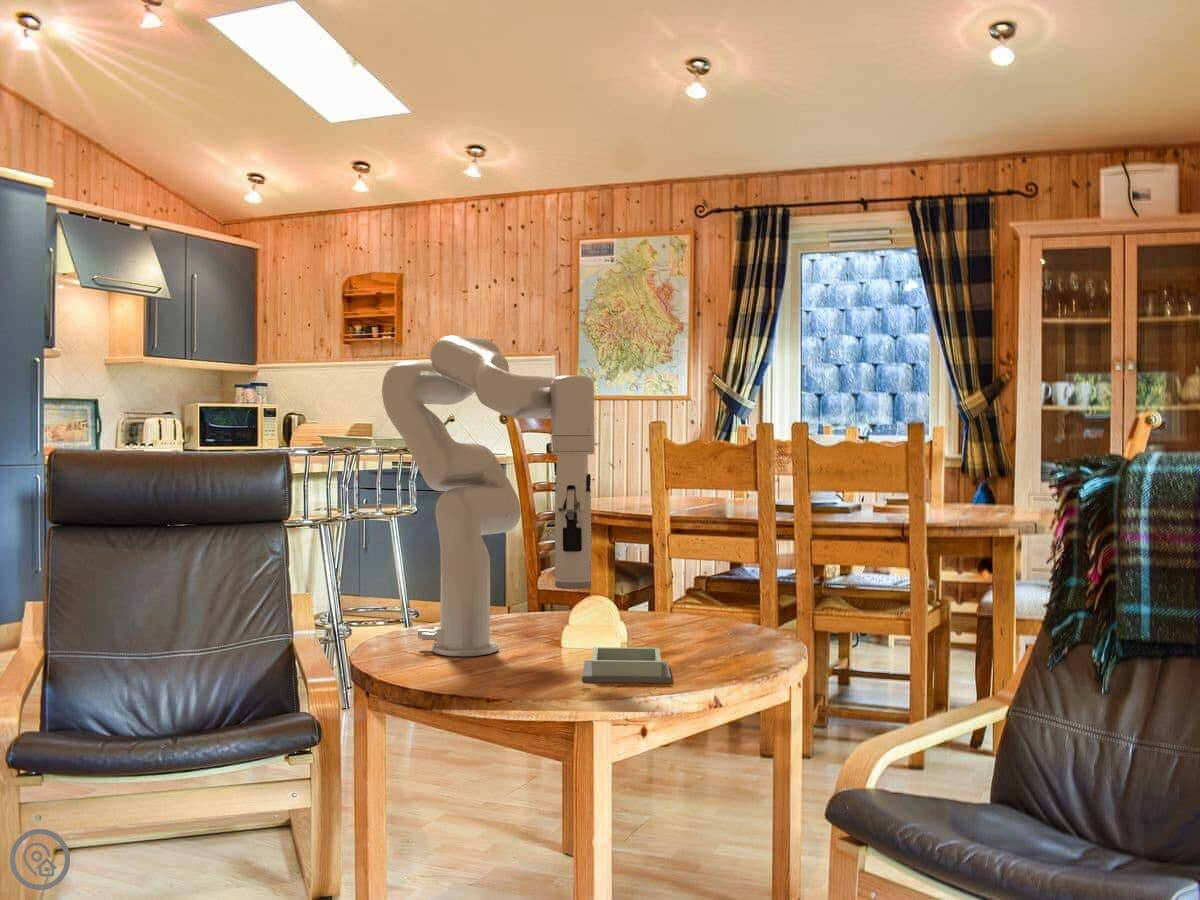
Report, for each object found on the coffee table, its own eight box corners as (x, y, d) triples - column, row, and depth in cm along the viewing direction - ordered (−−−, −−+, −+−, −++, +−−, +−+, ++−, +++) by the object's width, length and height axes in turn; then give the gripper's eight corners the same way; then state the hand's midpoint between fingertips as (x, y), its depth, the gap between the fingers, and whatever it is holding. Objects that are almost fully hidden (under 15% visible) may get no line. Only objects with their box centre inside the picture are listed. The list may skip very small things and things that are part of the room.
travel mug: (598, 585, 188) (598, 472, 188) (579, 590, 182) (579, 472, 182) (568, 583, 191) (568, 471, 191) (548, 587, 185) (548, 472, 185)
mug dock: (582, 681, 181) (582, 661, 181) (584, 666, 193) (584, 646, 193) (670, 683, 181) (671, 662, 181) (667, 667, 193) (667, 647, 193)
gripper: (556, 446, 195) (556, 545, 195) (546, 446, 178) (547, 554, 178) (597, 446, 195) (597, 544, 195) (591, 446, 178) (592, 554, 178)
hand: (573, 548), depth 187 cm, fingers closed on travel mug, 6 cm apart
